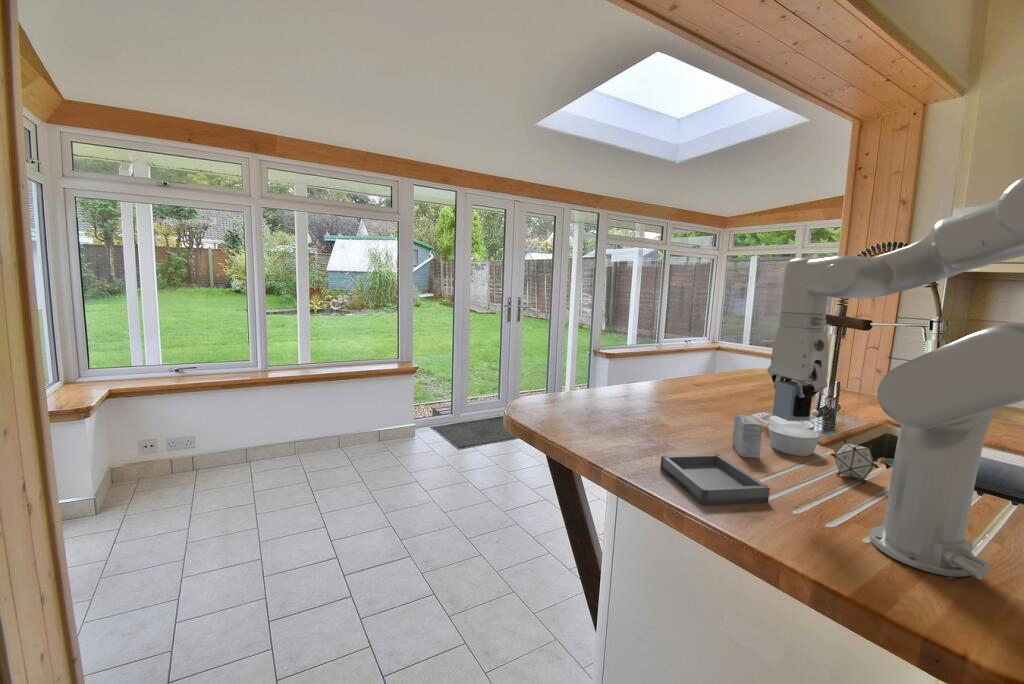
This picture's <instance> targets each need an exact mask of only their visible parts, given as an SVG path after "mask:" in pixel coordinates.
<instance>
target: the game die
mask: <svg viewBox="0 0 1024 684" xmlns="http://www.w3.org/2000/svg"><path fill="white" fill-rule="evenodd" d="M842 442H843V444H842V446H840V448H839V449H838V450H837V451H836V452H835V453H833V452H832V453H830V456H831V457H833V458H834V460H835V464H836V468H837V470H838V473H836V477H838V476H840V475H845V476H848V477H852V478H855V479H856V478H857V479H860V480H862V482H863V483H864V482H865V483H866V484H867V480H866V478H867V477H868V476H869V474H870V473H871V472H872V471H873V470H874V469H880V467H879V466H878V464H877V463H875V461H874V457H873V455H872V451H871V449H873V448H874V447H873V445H869V446H868V447H866V446H862V445H857V444H854V443H849V442H847V440H846V439H842ZM865 483H864V484H865Z"/></svg>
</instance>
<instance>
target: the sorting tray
mask: <svg viewBox="0 0 1024 684" xmlns="http://www.w3.org/2000/svg"><path fill="white" fill-rule="evenodd" d="M660 470H661V471H663V472H664V474H666V475H667V476H668V477H670V478H671V479H672V480H673V481H674V482H675V483H677V484H678V486H680V487H681V488H682V489H683V490H685V491H686V493H688V494H689V495H690V496H691V497H692V498H694V499H695V500H696V501H697V502H698V503H699V504H700V505H701V506H713V505H735V504H752V503H753V504H757V503H768V502H769V500H770V499H769V497H770V486H768V485H766V484H765V483H763V482H762V481H760V480H758V478H755V477H754V476H753V475H752V474H750V473H748V472H746V471H745V470H743V469H742V468H740V467H738V466H737V465H735V464H734V463H733V462H731V461H730V460H727V459H726V458H724V457H723V456H721V455H720V454H718V453H717V454H716V453H715V454H684V455H683V454H681V455H679V454H678V455H677V454H675V455H661V459H660Z"/></svg>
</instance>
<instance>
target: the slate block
mask: <svg viewBox="0 0 1024 684" xmlns="http://www.w3.org/2000/svg"><path fill="white" fill-rule="evenodd" d="M804 385H805V388H807V384H804ZM795 396H798V388H797V381H796V380H792V381H785V380H784V381H776V388H775V389H774V399H773V406H772V415H773V416H776V417H778V418H780V419H783V420H784V421H785V420H786V421H787V422H810V419H811V418H810V416H811V415H810V416H809V417H795V416H793V412H794V403H795ZM812 400H813V399H812ZM812 400H811V403H812V402H813V401H812ZM811 409H812V408H811ZM811 409H810V411H811Z"/></svg>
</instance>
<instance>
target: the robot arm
mask: <svg viewBox="0 0 1024 684" xmlns="http://www.w3.org/2000/svg"><path fill="white" fill-rule="evenodd" d="M1023 256H1024V176H1023V177H1021V178H1020V179H1017V180H1016V181H1015V182H1014V183H1012V184H1011V185H1009V186H1008V188H1007V189H1005V191H1004V192H1003V193H1002V194H1001V196H1000V197H999V198H998V199H996V200H994V201H991V202H988V203H985V204H983V205H979V206H977V207H974V208H971V209H968V210H965V211H962V212H960V213H956V214H954V215H949V216H947V217H945V218H943V219H940V220H938V221H937V222H935V224H934V225H933V226H932V228H931V230H930V232H929V233H928V234H927V235H926V236H925V237H923V238H922V239H920V240H918V241H916V242H913V243H912V244H909V245H907V246H904V247H901V248H898V249H896V250H893V251H890V252H886V253H883V254H880V255H877V256H873V257H872V256H862V255H861V256H860V255H845V254H844V255H834V256H829V257H823V258H821V257H820V258H818V257H817V258H816V257H805V258H804V257H800V258H792V259H790V260H788V262H787V263H786V265H785V269H784V277H783V286H782V294H781V295H782V296H781V304H780V312H779V314H780V315H779V320H778V322H779V323H778V327H777V329H776V333H775V336H774V341H773V345H772V351H771V358H770V365H769V367H768V368H767V373H768V374H769V376H770V377H771V380H772V382H773V388H774V390H775V388H776V381H797V388H798V396H795V403H794V412H793V416H795V417H809V416H811V410H810V409H812V402H811V400H813V398H815V396H816V395H817V394H818V393H819V392H820V391H822V390H824V389H825V388H828V382H827V377H828V372H829V371H828V370H829V354H830V352H829V351H830V350H829V337H828V331H825V326H826V325H827V323H828V321H827V319H826V317H827V316H826V315H827V306H828V300H829V297H830V298H833V299H834V298H836V299H864V300H865V299H867V300H869V299H876V298H880V297H885V296H888V295H889V296H890V295H893V294H896V293H900V292H905V291H908V290H912V289H916V288H919V287H922V286H925V285H929V284H932V283H936V282H937V281H941V280H944V279H947V278H951V277H954V276H956V275H958V274H962V273H964V272H968V271H972V270H974V269H975V270H976V269H978V268H983V267H987V266H991V265H995V264H997V263H1001V262H1006V261H1009V260H1012V259H1015V258H1021V257H1023ZM804 384H807V388H805V385H804ZM876 393H877V395H876V397H877V401H878V405H879V407H880V408H881V410H882V411H883V412H884V413H885V414H886V415H887V416H888V418H890V419H891V420H893V421H894V422H896V423H898V424H901V427H900V428H899V429H900V430H899V433H898V437H897V440H896V441H897V443H896V446H895V447H896V448H895V451H894V458H893V463H892V464H893V465H892V471H891V477H890V484H889V489H888V490H889V491H888V496H887V502H886V503H887V504H886V510H885V516H884V521H883V525H878V526H874V527H873V528H871V530H870V533H869V538H870V541H871V543H872V544H873V545H874V546H875V548H877V549H879V551H881V552H882V553H884V554H886V556H888V557H890V558H892V559H893V560H896V561H898V562H899V563H900V562H901V563H902V564H904V565H907V566H909V567H912V568H915V569H917V570H921V571H924V572H927V573H931V574H936V575H940V576H944V577H945V576H946V577H953V578H955V577H956V578H957V577H959V578H963V577H968V576H972V577H974V578H976V579H978V580H982V581H983V580H984V579H985V578H987V576H988V574H989V571H990V570H991V568H992V564H991V563H990V562H988V561H986V560H984V559H983V558H980V557H979V556H976V555H974V553H973V546H974V543H973V542H971V541H970V540H968V539H966V535H967V530H968V526H969V525H968V524H969V519H970V514H971V510H972V509H971V507H972V502H973V497H974V492H975V487H976V486H975V485H976V480H977V474H978V471H979V467H980V461H981V458H982V457H981V456H982V451H983V447H984V443H985V440H986V436H987V432H988V430H989V427H990V425H991V421H992V418H993V415H994V413H995V410H997V409H1000V408H1004V407H1008V406H1010V405H1014V404H1017V403H1021V402H1023V401H1024V322H1021V323H1019V322H1018V323H1005V324H1000V325H994V326H990V327H987V328H984V329H981V330H979V331H978V330H977V331H976V332H973V333H971V334H968V335H966V336H963V337H961V338H959V339H957V340H954V341H952V342H950V343H947V344H945V345H942V346H940V347H938V348H935V349H933V350H931V351H929V352H927V353H924V354H922V355H919V356H917V357H915V358H912V359H910V360H909V361H906V362H903V363H902V364H899V365H897V366H896V367H895V366H894V368H892V369H890V370H889V371H887V373H886V374H885V375H884V376H883V377H882V378H881V380H880V382H879V384H878V386H877V392H876Z"/></svg>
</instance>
